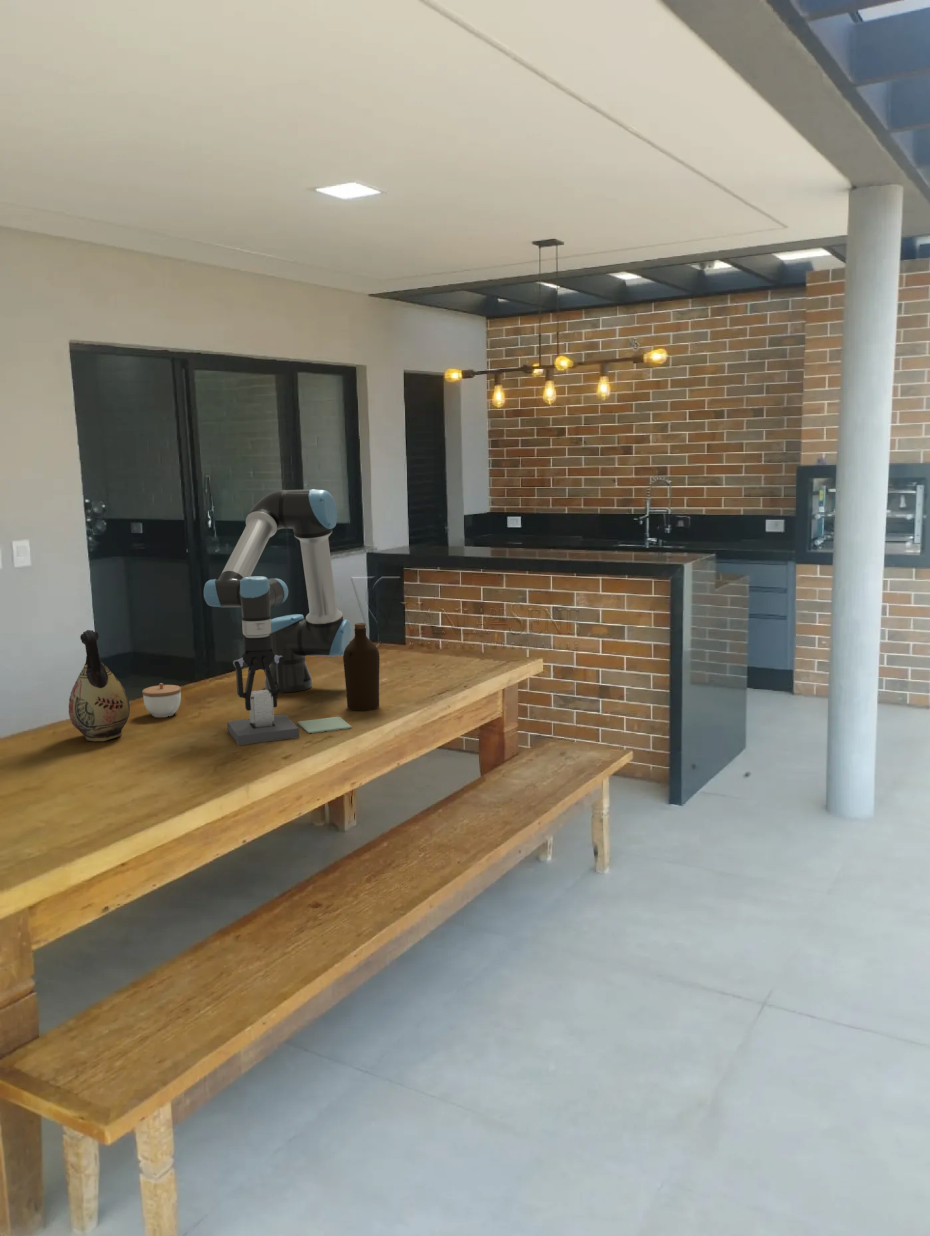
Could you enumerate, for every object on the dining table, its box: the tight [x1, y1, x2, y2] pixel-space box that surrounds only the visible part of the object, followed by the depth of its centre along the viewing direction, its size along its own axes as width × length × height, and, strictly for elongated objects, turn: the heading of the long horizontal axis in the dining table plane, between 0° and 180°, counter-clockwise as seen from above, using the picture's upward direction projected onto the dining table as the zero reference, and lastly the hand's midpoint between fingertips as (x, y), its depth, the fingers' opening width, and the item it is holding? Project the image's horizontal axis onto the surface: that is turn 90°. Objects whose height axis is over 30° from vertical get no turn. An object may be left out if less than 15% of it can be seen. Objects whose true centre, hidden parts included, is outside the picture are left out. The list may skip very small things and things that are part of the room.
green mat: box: [297, 716, 353, 735], centre depth 276 cm, size 12×12×1 cm
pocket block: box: [226, 714, 300, 746], centre depth 270 cm, size 16×16×2 cm
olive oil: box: [342, 622, 381, 712], centre depth 294 cm, size 11×11×25 cm
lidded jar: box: [141, 682, 182, 718], centre depth 292 cm, size 11×11×9 cm
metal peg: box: [251, 689, 272, 729], centre depth 269 cm, size 4×4×12 cm
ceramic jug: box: [68, 629, 131, 742], centre depth 267 cm, size 17×15×30 cm
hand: (262, 720), depth 269 cm, fingers closed on metal peg, 4 cm apart
